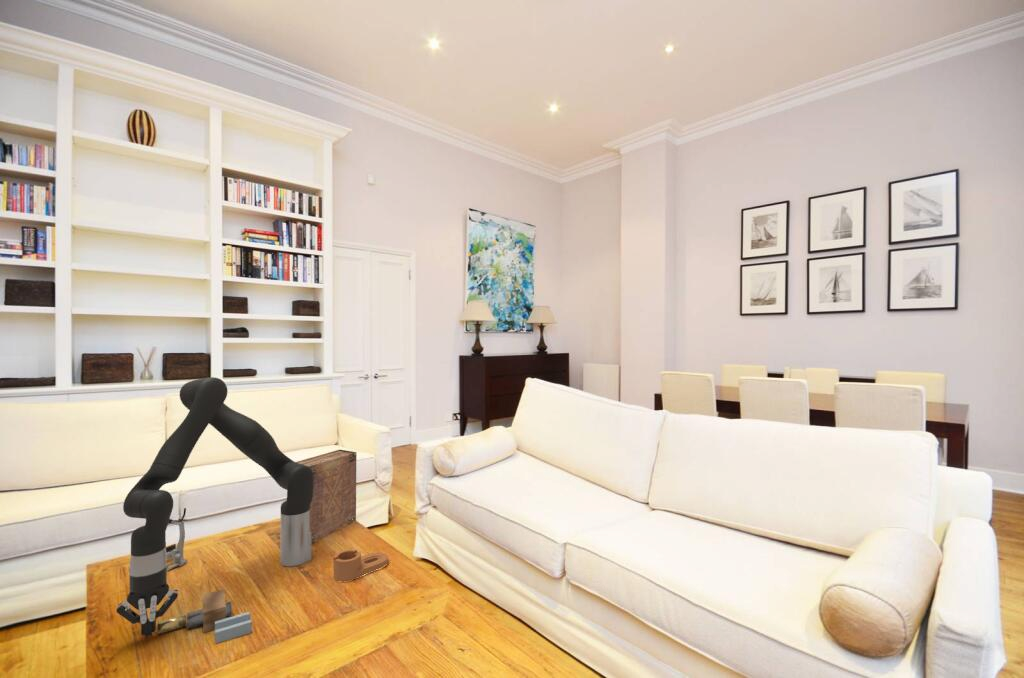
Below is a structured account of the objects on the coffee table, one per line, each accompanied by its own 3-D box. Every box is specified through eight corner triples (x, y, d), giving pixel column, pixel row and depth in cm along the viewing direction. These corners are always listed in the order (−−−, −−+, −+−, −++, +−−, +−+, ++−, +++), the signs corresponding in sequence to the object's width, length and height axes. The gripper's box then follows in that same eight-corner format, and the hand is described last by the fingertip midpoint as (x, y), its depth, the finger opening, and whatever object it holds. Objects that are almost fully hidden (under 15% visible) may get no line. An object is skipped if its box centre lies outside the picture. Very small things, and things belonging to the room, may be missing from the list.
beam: (224, 607, 132) (224, 589, 132) (225, 626, 123) (225, 606, 123) (202, 613, 129) (203, 594, 129) (203, 632, 121) (203, 612, 121)
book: (304, 549, 167) (305, 467, 167) (287, 544, 171) (287, 464, 171) (356, 524, 190) (356, 451, 190) (339, 520, 194) (340, 449, 194)
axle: (230, 612, 130) (230, 598, 130) (231, 619, 127) (231, 605, 127) (187, 624, 124) (187, 610, 124) (187, 632, 121) (187, 617, 121)
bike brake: (192, 565, 156) (192, 506, 156) (171, 574, 149) (171, 513, 149) (165, 557, 161) (165, 500, 160) (143, 566, 154) (144, 507, 154)
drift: (185, 628, 123) (186, 617, 125) (185, 622, 122) (185, 611, 124) (157, 636, 120) (158, 624, 122) (157, 630, 119) (157, 619, 121)
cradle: (249, 621, 125) (249, 611, 125) (251, 632, 121) (251, 621, 121) (214, 632, 121) (214, 621, 121) (215, 643, 116) (215, 632, 116)
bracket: (340, 586, 144) (340, 564, 144) (329, 576, 150) (329, 555, 150) (392, 566, 156) (392, 546, 156) (380, 558, 162) (380, 538, 162)
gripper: (180, 555, 125) (180, 618, 125) (116, 568, 118) (116, 636, 118) (179, 566, 119) (179, 633, 119) (112, 581, 111) (112, 653, 111)
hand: (148, 634), depth 118 cm, fingers closed
